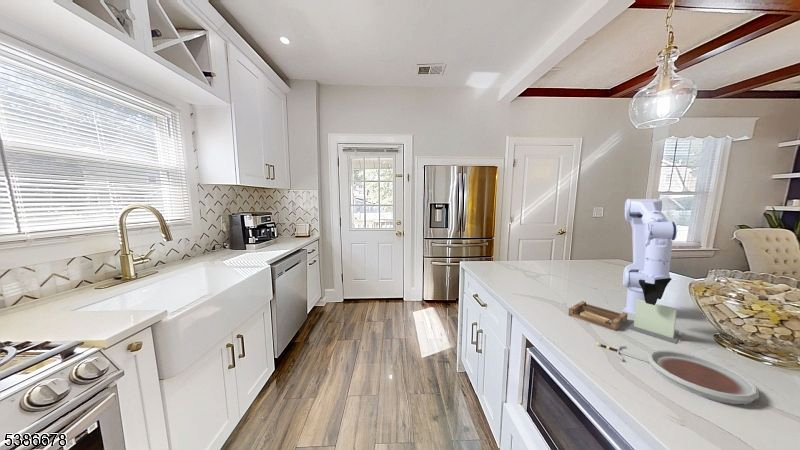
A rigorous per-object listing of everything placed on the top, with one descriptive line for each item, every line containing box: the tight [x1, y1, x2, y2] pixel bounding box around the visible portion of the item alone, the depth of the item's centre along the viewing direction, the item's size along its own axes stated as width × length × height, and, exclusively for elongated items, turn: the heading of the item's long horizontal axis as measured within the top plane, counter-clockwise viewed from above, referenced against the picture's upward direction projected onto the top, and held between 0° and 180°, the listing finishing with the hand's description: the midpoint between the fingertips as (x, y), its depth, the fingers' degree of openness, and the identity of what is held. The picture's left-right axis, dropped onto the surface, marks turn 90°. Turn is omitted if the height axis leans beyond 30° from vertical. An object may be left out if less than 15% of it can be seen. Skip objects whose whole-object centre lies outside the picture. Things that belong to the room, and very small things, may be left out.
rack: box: [568, 300, 628, 332], centre depth 90 cm, size 12×14×3 cm
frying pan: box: [595, 341, 760, 405], centre depth 64 cm, size 17×3×28 cm
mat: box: [626, 321, 682, 345], centre depth 81 cm, size 8×11×1 cm
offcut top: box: [579, 311, 611, 324], centre depth 89 cm, size 4×8×1 cm, turn 29°
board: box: [633, 299, 678, 338], centre depth 80 cm, size 2×9×9 cm, turn 34°
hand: (653, 301), depth 80 cm, fingers open, 7 cm apart
